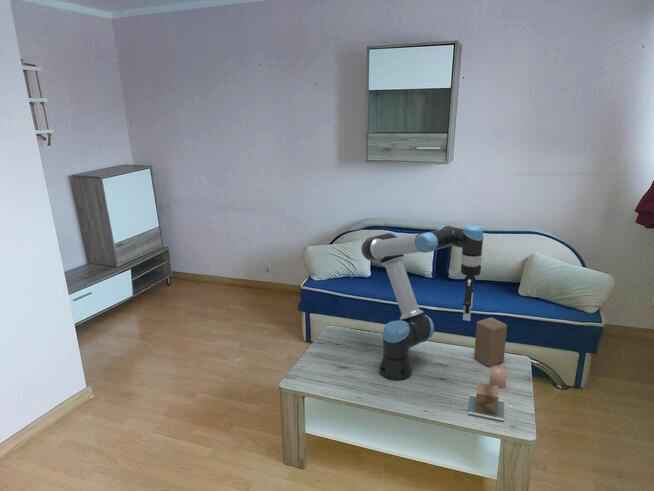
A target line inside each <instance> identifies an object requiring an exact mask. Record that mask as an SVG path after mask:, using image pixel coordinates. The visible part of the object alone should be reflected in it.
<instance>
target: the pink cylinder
mask: <svg viewBox="0 0 654 491" xmlns="http://www.w3.org/2000/svg"><path fill="white" fill-rule="evenodd" d="M506 380H507V369H506V368H505V367H504V366H501V365H494V366H491V367H490V374H489V385H495V386H499V389H502V388H505V386H506Z"/></svg>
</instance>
